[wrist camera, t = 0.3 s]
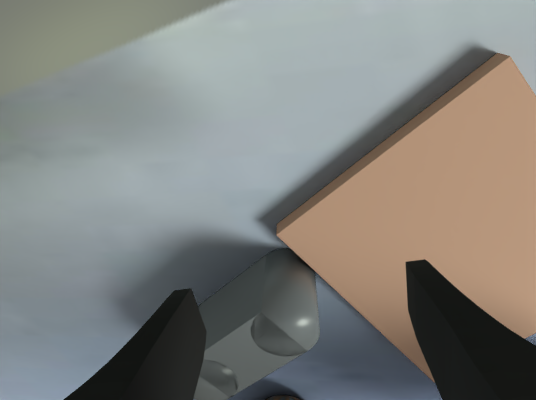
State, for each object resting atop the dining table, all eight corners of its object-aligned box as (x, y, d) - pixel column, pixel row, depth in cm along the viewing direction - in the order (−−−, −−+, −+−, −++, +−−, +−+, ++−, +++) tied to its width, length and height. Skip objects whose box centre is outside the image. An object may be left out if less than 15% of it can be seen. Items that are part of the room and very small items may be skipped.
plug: (326, 274, 25) (334, 335, 20) (210, 353, 29) (195, 418, 24) (288, 238, 24) (287, 294, 19) (172, 325, 28) (149, 388, 23)
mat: (635, 263, 23) (652, 275, 22) (429, 367, 28) (434, 382, 27) (497, 52, 18) (510, 56, 17) (277, 224, 23) (276, 235, 22)
